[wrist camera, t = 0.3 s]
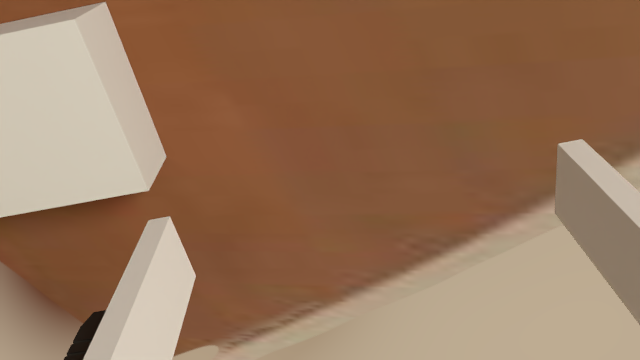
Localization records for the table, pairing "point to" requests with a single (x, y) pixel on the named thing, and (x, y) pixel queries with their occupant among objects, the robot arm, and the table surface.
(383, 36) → the table surface
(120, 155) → the cream white block
